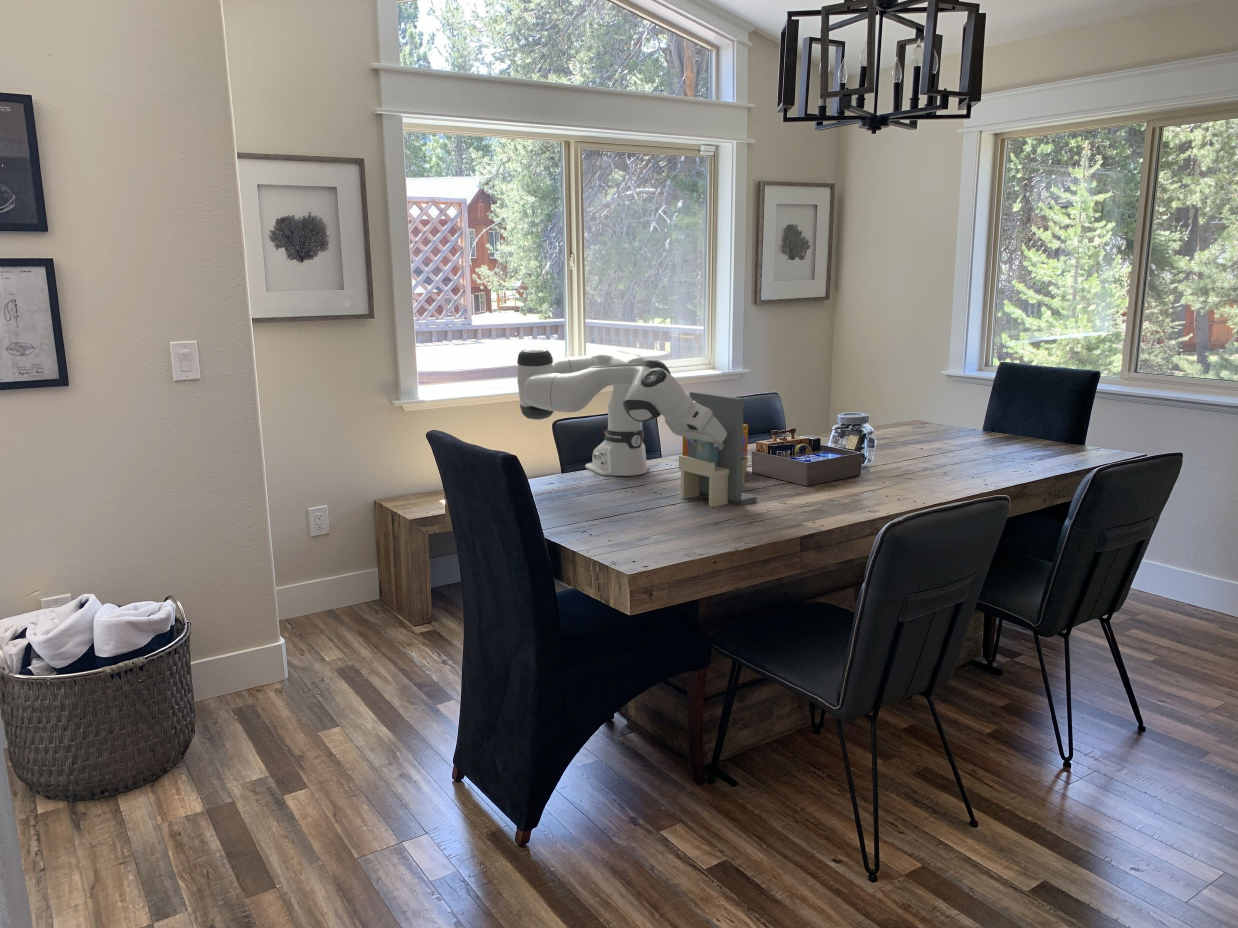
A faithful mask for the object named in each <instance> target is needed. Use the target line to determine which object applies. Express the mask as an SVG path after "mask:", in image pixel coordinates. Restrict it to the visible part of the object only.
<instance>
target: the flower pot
mask: <svg viewBox="0 0 1238 928" xmlns="http://www.w3.org/2000/svg"><path fill="white" fill-rule="evenodd" d="M749 460H750V458H749V456H747V457H746V456H742V487H744V484H745V476H746V472H747V471H746V465H747V466H748V461H749Z"/></svg>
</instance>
